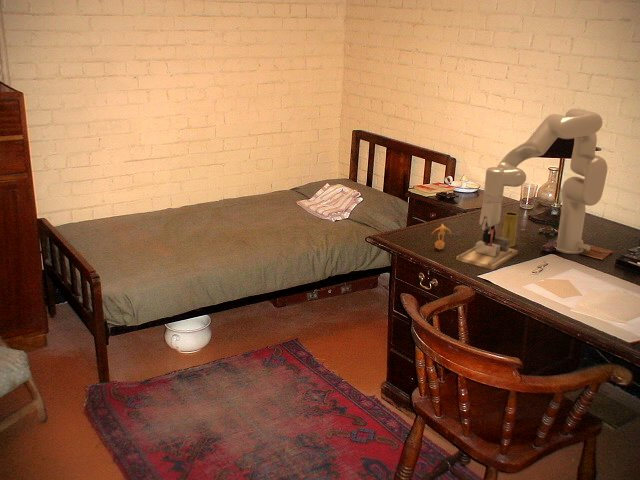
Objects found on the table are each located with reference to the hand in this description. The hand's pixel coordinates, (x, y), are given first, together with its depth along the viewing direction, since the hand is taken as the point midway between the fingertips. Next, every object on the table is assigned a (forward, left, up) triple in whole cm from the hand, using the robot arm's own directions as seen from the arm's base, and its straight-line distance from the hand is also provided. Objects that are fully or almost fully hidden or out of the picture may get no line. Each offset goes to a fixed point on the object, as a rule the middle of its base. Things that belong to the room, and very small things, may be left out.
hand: (488, 240), depth 270 cm
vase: (0, -21, -7) cm, 22 cm away
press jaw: (0, 0, -5) cm, 5 cm away
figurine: (+19, +5, -7) cm, 21 cm away
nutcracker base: (0, -1, -7) cm, 7 cm away
